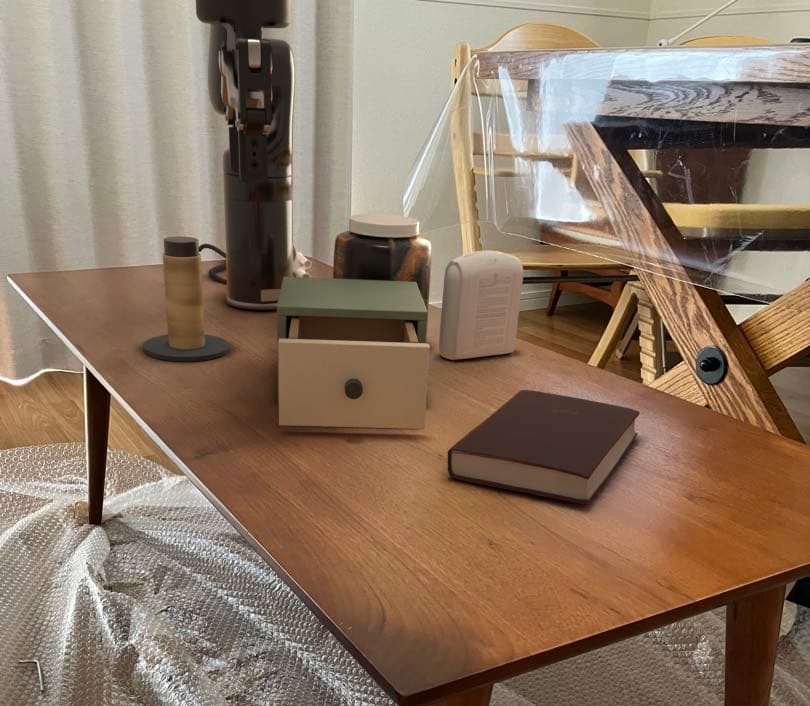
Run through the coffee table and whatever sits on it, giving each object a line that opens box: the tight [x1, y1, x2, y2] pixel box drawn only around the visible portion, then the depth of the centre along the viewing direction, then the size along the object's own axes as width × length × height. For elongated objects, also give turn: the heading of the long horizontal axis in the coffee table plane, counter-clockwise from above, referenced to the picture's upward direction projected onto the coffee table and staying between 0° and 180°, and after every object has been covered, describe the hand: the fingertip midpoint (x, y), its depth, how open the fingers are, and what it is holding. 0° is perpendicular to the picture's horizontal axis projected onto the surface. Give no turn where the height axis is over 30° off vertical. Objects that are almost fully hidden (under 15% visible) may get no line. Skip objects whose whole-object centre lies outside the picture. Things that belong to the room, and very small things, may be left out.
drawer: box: [278, 316, 431, 430], centre depth 89 cm, size 14×14×8 cm
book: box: [447, 389, 640, 505], centre depth 83 cm, size 12×19×3 cm, turn 155°
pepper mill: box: [162, 236, 206, 350], centre depth 105 cm, size 4×4×12 cm
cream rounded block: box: [438, 249, 524, 361], centre depth 110 cm, size 10×4×12 cm, turn 123°
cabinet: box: [276, 276, 429, 403], centre depth 98 cm, size 14×15×10 cm
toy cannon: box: [293, 245, 313, 278], centre depth 147 cm, size 8×14×5 cm
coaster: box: [142, 334, 231, 363], centre depth 108 cm, size 10×10×1 cm
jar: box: [332, 213, 432, 340], centre depth 111 cm, size 12×12×15 cm
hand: (247, 177), depth 79 cm, fingers open, 8 cm apart
